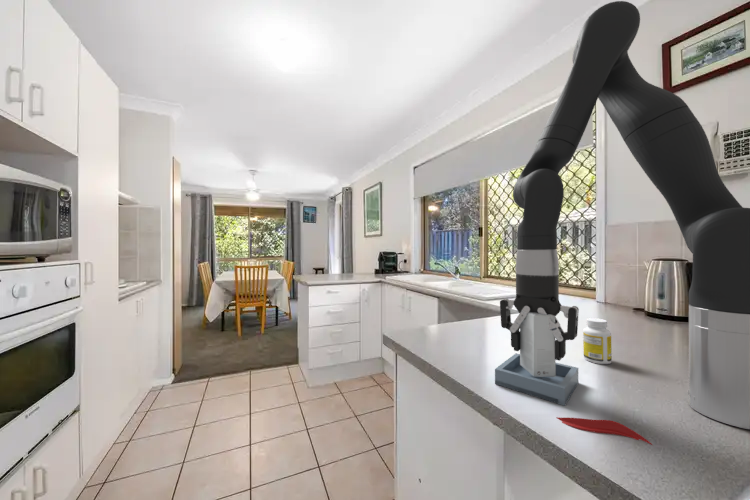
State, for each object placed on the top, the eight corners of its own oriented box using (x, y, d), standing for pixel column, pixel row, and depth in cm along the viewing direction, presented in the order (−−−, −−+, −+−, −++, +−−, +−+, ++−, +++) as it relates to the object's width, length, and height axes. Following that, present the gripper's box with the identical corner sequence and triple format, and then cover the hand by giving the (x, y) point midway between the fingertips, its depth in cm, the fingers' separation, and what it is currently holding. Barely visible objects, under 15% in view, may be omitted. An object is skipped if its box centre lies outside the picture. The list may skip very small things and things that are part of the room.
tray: (578, 382, 59) (578, 367, 59) (564, 405, 51) (564, 388, 51) (515, 366, 68) (515, 353, 67) (494, 383, 59) (494, 369, 59)
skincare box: (556, 377, 56) (556, 315, 56) (534, 377, 56) (533, 315, 56) (539, 365, 62) (539, 308, 62) (519, 365, 62) (518, 308, 62)
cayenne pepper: (656, 442, 42) (656, 429, 42) (656, 459, 38) (656, 445, 38) (558, 410, 50) (558, 399, 50) (551, 422, 47) (551, 410, 46)
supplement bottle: (601, 356, 73) (601, 317, 73) (617, 365, 68) (617, 322, 68) (578, 356, 74) (578, 317, 74) (592, 364, 68) (592, 322, 68)
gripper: (583, 273, 57) (583, 358, 57) (506, 269, 67) (507, 342, 67) (575, 275, 51) (575, 370, 51) (493, 271, 61) (493, 350, 61)
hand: (536, 354), depth 59 cm, fingers closed on skincare box, 7 cm apart
